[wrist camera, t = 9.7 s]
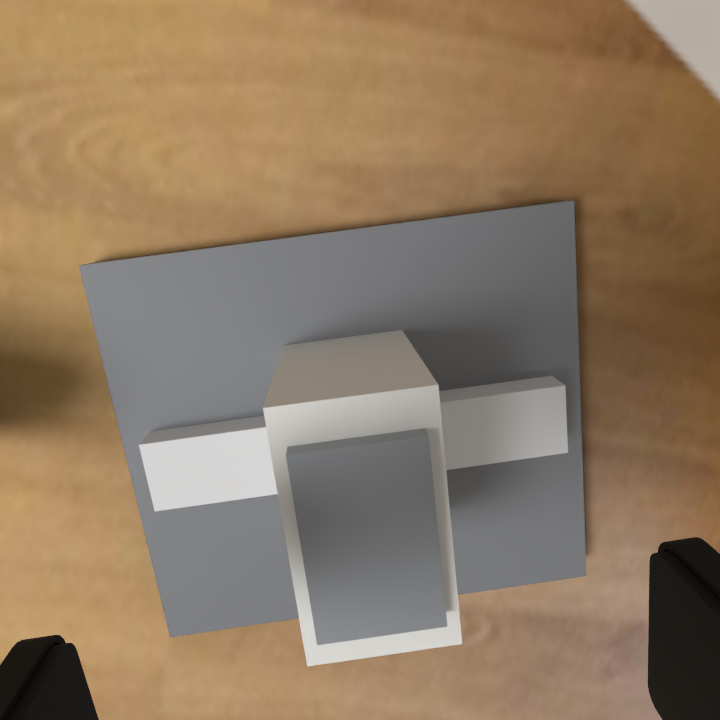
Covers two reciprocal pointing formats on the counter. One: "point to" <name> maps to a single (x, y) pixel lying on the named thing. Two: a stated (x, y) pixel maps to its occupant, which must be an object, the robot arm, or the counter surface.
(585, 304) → the counter surface
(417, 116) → the counter surface
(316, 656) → the block
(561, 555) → the mounting board
